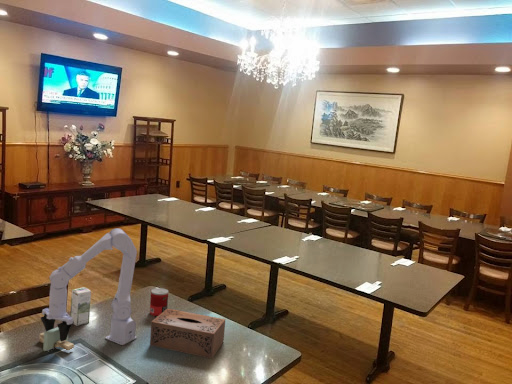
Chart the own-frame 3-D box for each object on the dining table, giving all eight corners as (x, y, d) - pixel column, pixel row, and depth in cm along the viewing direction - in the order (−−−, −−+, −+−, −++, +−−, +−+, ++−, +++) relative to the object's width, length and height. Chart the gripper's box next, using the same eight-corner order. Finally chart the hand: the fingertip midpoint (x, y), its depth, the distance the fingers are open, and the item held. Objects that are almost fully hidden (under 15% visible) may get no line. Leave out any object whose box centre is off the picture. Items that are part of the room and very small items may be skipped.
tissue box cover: (149, 345, 165) (151, 321, 164) (165, 330, 179) (167, 308, 178) (212, 359, 160) (214, 333, 159) (223, 342, 174) (225, 319, 173)
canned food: (164, 317, 191) (166, 294, 190) (147, 316, 191) (149, 292, 190) (168, 311, 199) (170, 288, 198) (151, 309, 199) (153, 287, 198)
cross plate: (64, 341, 162) (65, 324, 161) (68, 342, 161) (68, 325, 160) (43, 350, 154) (43, 332, 153) (46, 352, 153) (47, 333, 152)
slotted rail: (73, 351, 155) (73, 344, 155) (67, 354, 153) (68, 346, 153) (45, 339, 162) (45, 331, 162) (39, 341, 160) (39, 333, 160)
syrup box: (82, 318, 183) (84, 286, 181) (89, 323, 179) (91, 290, 178) (69, 322, 179) (71, 289, 177) (76, 326, 175) (78, 293, 173)
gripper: (35, 300, 155) (34, 335, 157) (61, 310, 149) (60, 347, 150) (52, 295, 162) (50, 329, 163) (78, 304, 155) (76, 339, 157)
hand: (56, 337), depth 157 cm, fingers open, 7 cm apart
